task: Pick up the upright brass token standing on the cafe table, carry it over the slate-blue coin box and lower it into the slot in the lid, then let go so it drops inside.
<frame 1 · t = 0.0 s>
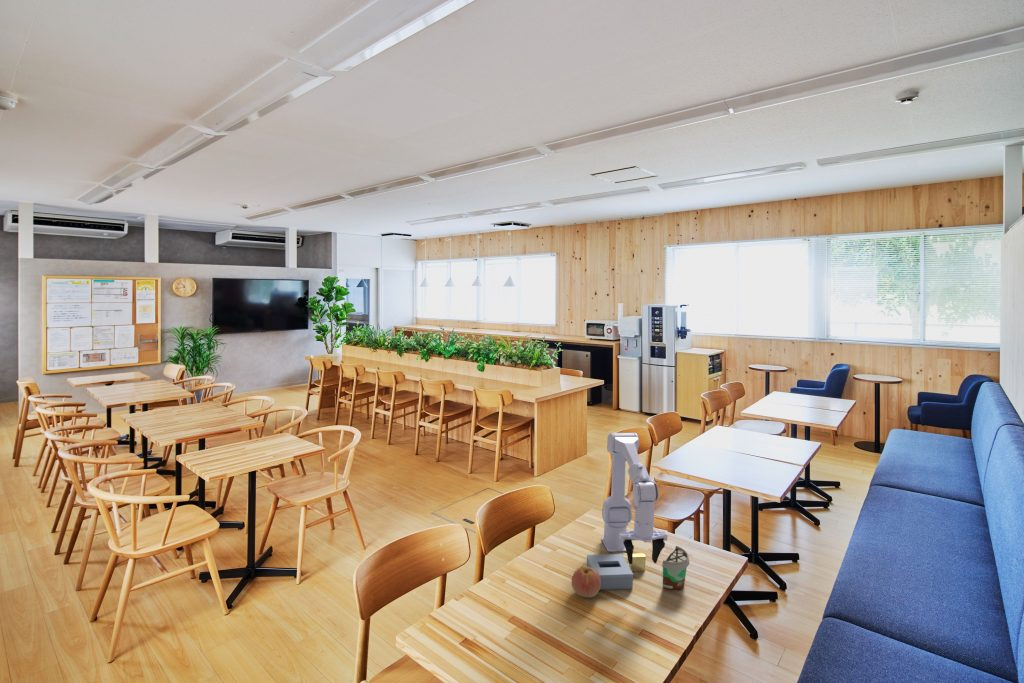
hand: (642, 561, 160), 10 cm above the table, fingers open, 7 cm apart
apple: (585, 594, 160), on the table, touching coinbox
food container: (677, 586, 165), on the table
token: (636, 569, 174), on the table
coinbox: (608, 578, 168), on the table
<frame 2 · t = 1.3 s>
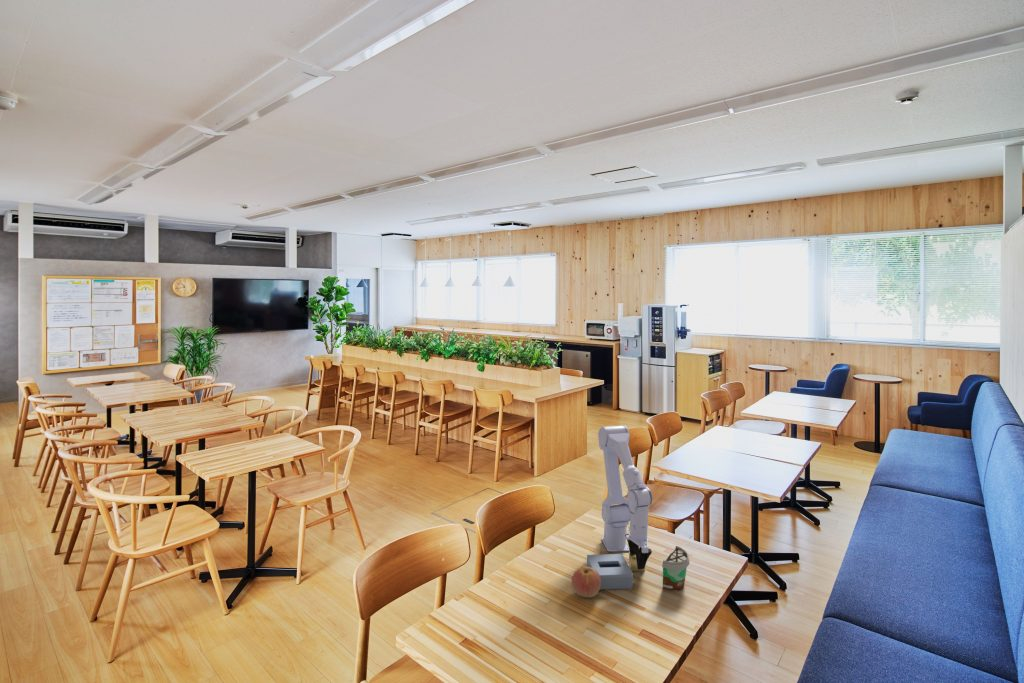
hand: (637, 562, 174), 2 cm above the table, fingers open, 7 cm apart
nothing on the table moved.
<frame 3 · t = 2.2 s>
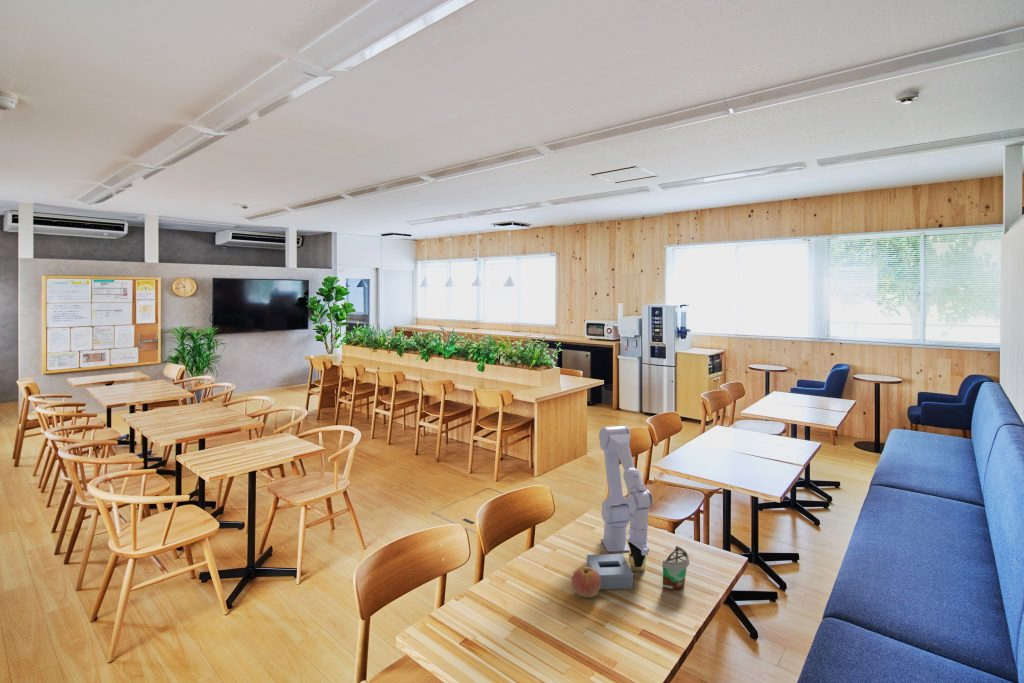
hand: (637, 564, 174), 2 cm above the table, fingers closed on token, 2 cm apart
token: (636, 568, 174), on the table, touching gripper
everything else where it was.
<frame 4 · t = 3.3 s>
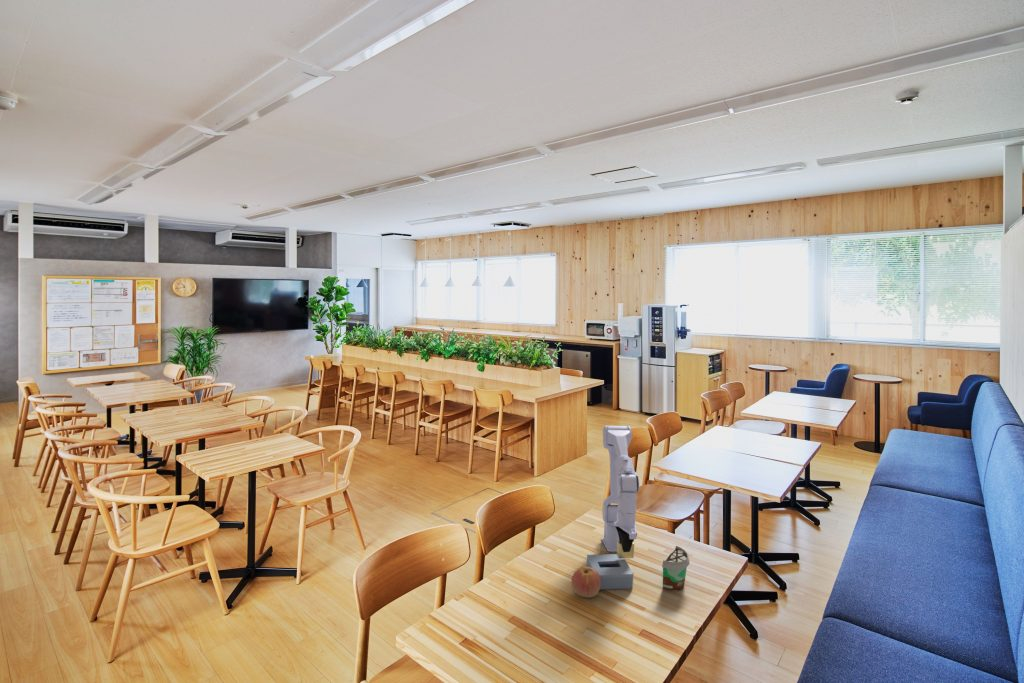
hand: (625, 549, 170), 8 cm above the table, fingers closed on token
token: (625, 556, 171), point 6 cm above the table, touching gripper
everything else where it was.
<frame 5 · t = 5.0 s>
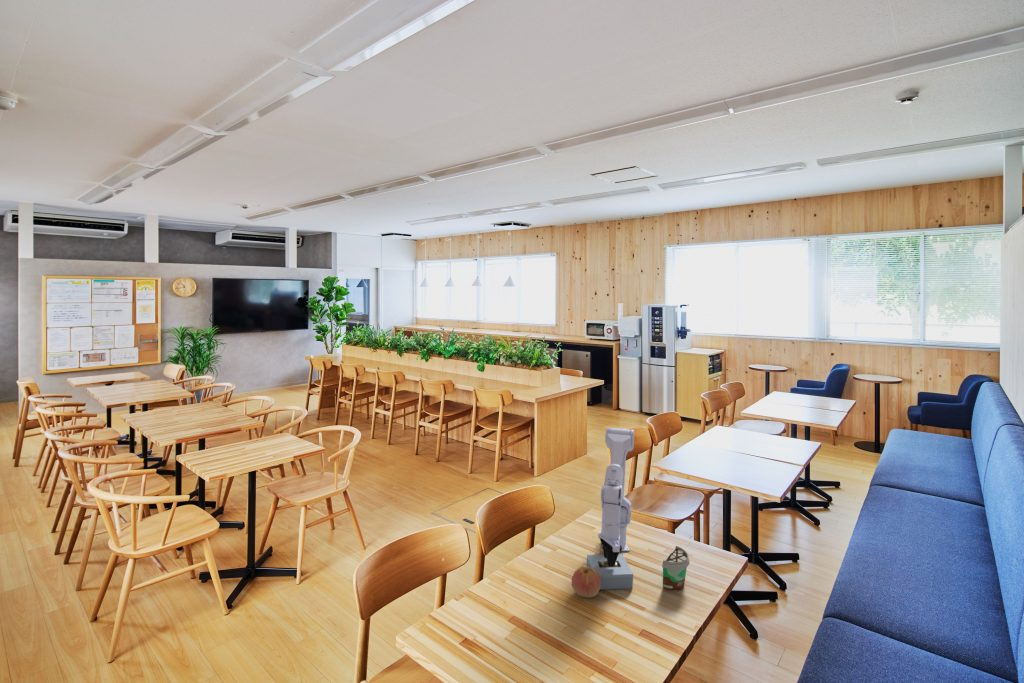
hand: (609, 561, 168), 6 cm above the table, fingers open, 4 cm apart
token: (608, 577, 168), resting on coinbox
everything else where it was.
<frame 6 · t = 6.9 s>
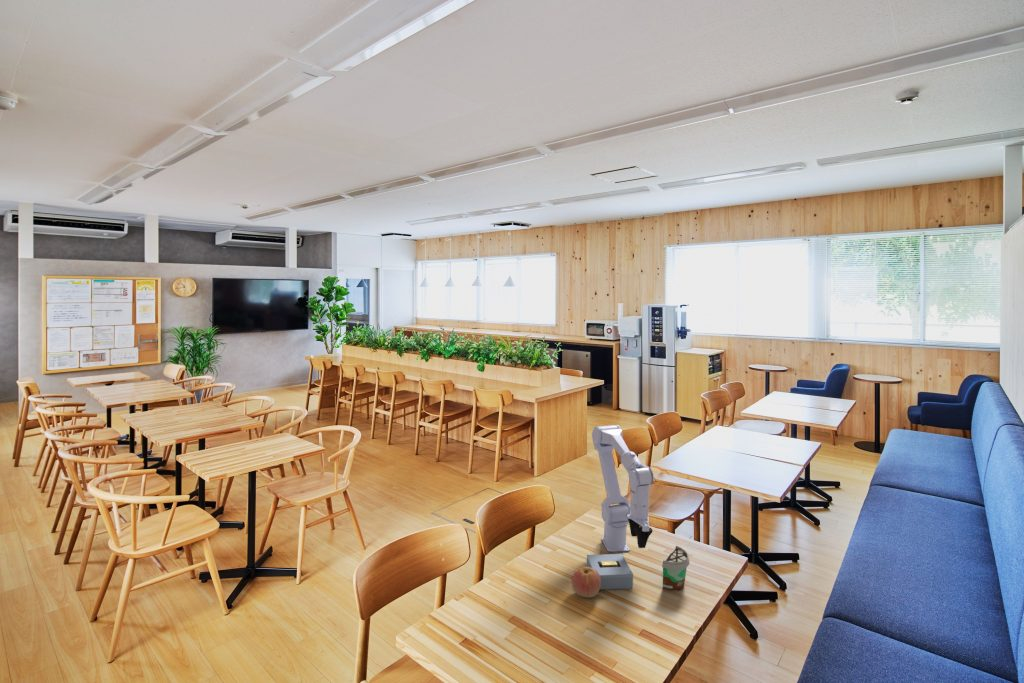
hand: (638, 541, 174), 9 cm above the table, fingers open, 7 cm apart
nothing on the table moved.
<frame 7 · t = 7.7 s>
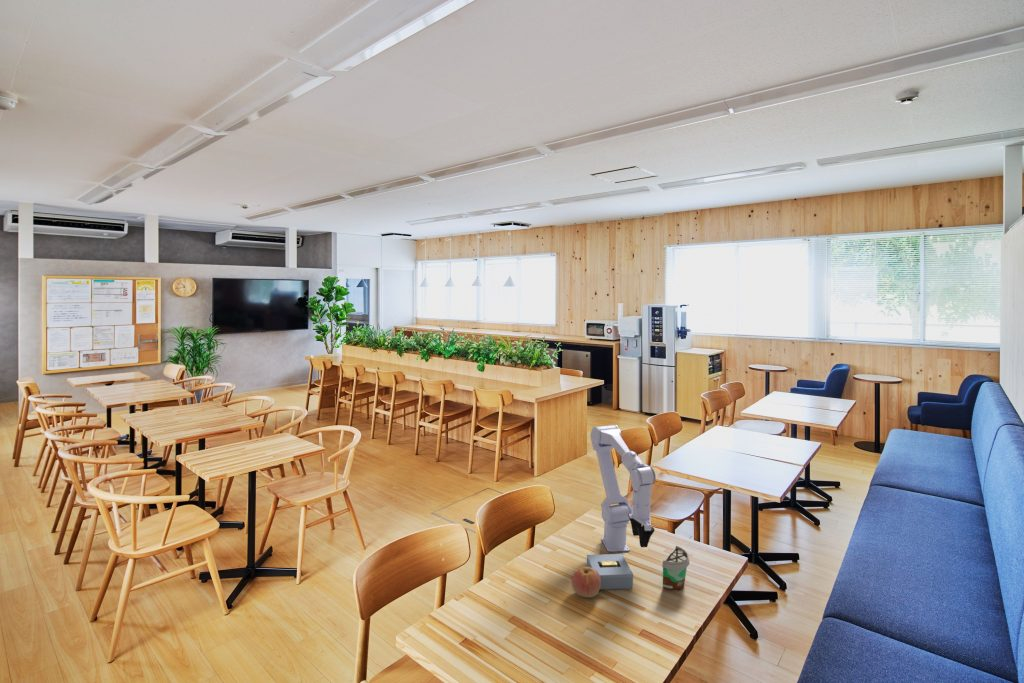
hand: (639, 540, 174), 9 cm above the table, fingers open, 7 cm apart
nothing on the table moved.
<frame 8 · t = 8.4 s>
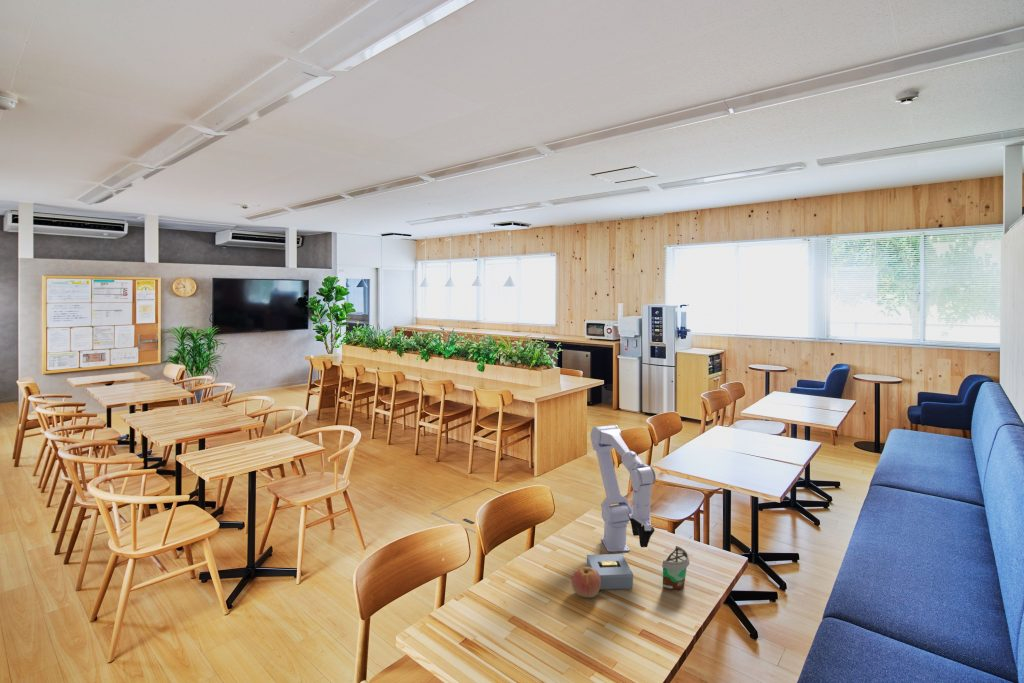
hand: (639, 540, 174), 9 cm above the table, fingers open, 7 cm apart
nothing on the table moved.
at the end: token inside the target area on the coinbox (0.1 cm from its centre), point 0.4 cm above the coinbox's base; the gripper is holding nothing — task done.
